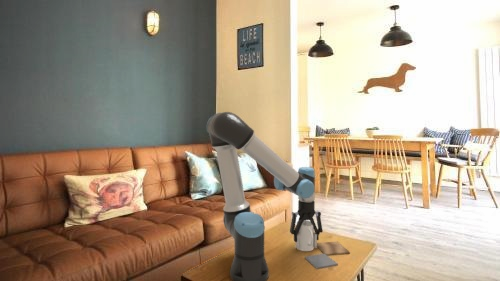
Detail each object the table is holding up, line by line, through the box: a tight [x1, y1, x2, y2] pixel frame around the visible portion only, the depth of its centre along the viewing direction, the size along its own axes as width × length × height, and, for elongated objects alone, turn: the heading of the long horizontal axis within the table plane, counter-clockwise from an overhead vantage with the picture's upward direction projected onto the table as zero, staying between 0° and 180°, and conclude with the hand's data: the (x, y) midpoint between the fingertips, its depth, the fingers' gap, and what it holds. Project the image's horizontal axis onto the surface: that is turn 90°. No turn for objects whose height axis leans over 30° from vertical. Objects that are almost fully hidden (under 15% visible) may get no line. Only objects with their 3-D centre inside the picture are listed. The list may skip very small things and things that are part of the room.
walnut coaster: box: [317, 241, 351, 257], centre depth 135 cm, size 12×12×1 cm
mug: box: [296, 220, 315, 252], centre depth 135 cm, size 12×8×12 cm
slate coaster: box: [304, 253, 339, 270], centre depth 123 cm, size 10×10×1 cm
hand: (306, 247), depth 135 cm, fingers closed on mug, 8 cm apart
